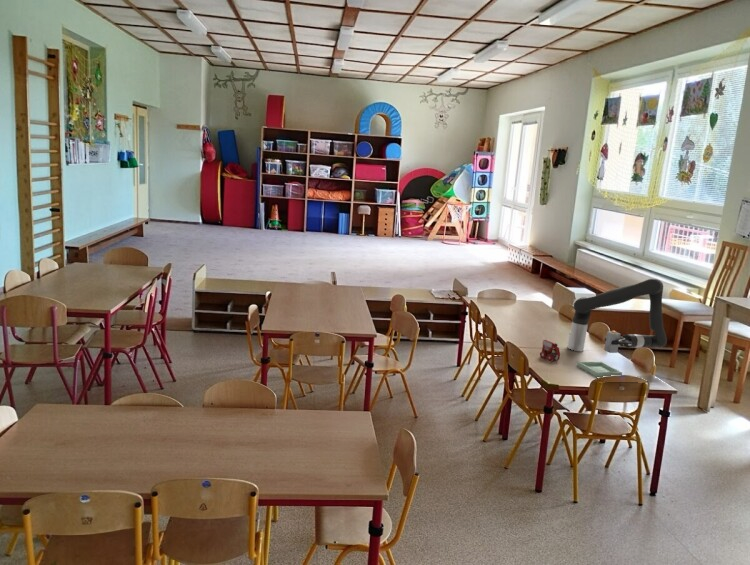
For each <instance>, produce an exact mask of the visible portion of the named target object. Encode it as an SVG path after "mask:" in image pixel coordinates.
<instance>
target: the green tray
mask: <svg viewBox="0 0 750 565" xmlns="http://www.w3.org/2000/svg"><path fill="white" fill-rule="evenodd" d="M576 367H577V369H578V368H579V369H580V370H582V371H584V372H586V374H589V375H590V374H591V375H590V376H592V377H594V378H596V379H598V378H597V377H603V376H611V375H623V372H622V371H620V370H618V369H617V368H614V367H612V366H611V365H609V364H607V363H606V362H604V361H577V365H576Z"/></svg>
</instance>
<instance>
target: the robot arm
mask: <svg viewBox="0 0 750 565" xmlns="http://www.w3.org/2000/svg"><path fill="white" fill-rule="evenodd" d="M663 292H664V284H663V282H662V281H661V280H660V279H658V278H649V279H645V280H644V281H641V282H638V283H636V284H629V285H626V286H625V285H624V286H620V287H617V288H613V289H609V290H607V291H604V292H602V293H599V294H596V295H595V296H590V297H586V296H581V297H579V298H578V299H576V300H575V301H574V303H573V309H574V315H573V318H572V322H571V326H570V327H571V328H570V332H569V336H568V342H567V348H568V349H569V350H570V349H571V351H573V350H574V352H583V351H584V348H585V343H586V339H587V338H586V337H587V331H588V325H589V321H590V317H591V313H592V310H593V311H594V310H595V309H599V308H604V307H606V308H607V307H610V306H615V305H618V304H623V303H626V302H629V301H630V300H633V299H636V298H637V297H641V296H646V295H648V296H649V301H650V302H649V315H648V320H649V330H651V331H653V332H654V334H651V335H650V334H649V335H647V334H635V333H634V334H632V333H631V334H630V333H629V334H624V335H623V336H620V340H619V341H611V344H612V345H619V346H620V347H625V348H626V349H631V348H632V349H635V348H636V349H637V348H664V347H665V346H667V342H668V339H667V335H666V331H665V329H664V321H663V303H662V302H663V301H662V300H663ZM604 342H606V337H605V338H604Z"/></svg>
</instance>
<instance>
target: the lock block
mask: <svg viewBox="0 0 750 565" xmlns="http://www.w3.org/2000/svg"><path fill="white" fill-rule="evenodd" d="M620 337H621V333H620V332H617V331H616V330H610V331H609V330H607V332H606V335H605V338H606V341H604V342H605V343H604V348H603V350H604V351H605V352H607V353H609V354H618V352H619V351H618V350H619V346H620V345H612V344H611V341H619V340H620Z"/></svg>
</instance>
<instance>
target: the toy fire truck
mask: <svg viewBox="0 0 750 565" xmlns="http://www.w3.org/2000/svg"><path fill="white" fill-rule="evenodd" d="M560 352H561V351H560V347H559V346H558V343H556V342H555V343H554V342H552V341H549V340H547V339H543V340H542V348H541V352H539V357H540V358H541V359H546V360H547V361H548V362H553V361H559V360H560V358H561V353H560Z"/></svg>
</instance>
